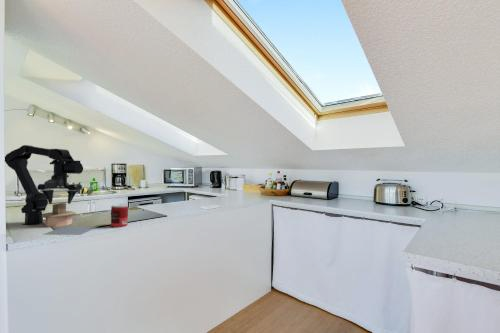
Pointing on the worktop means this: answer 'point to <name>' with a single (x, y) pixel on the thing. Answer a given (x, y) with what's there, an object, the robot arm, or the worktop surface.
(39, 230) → the worktop surface
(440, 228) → the worktop surface
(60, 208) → the lid
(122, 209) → the canned food
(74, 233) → the mat
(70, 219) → the bowl
